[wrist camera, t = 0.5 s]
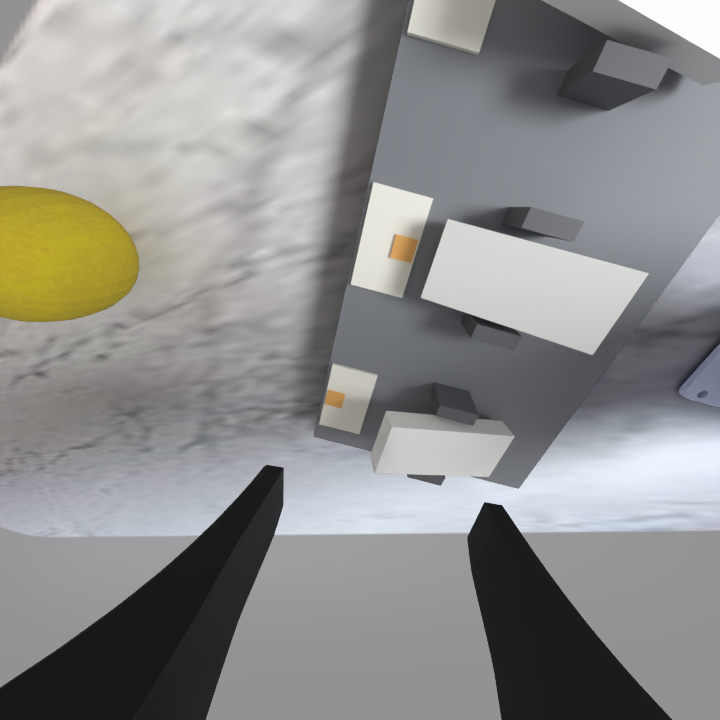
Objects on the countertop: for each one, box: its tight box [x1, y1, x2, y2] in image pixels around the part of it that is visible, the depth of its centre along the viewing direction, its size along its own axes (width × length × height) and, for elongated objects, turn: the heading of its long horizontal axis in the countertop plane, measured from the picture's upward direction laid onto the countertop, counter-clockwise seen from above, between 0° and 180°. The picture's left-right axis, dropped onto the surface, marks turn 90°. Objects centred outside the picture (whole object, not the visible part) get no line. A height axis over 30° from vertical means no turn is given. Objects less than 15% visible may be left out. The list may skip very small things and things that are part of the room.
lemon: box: [0, 186, 139, 322], centre depth 13 cm, size 6×6×8 cm
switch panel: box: [313, 0, 720, 489], centre depth 14 cm, size 14×25×4 cm, turn 166°
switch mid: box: [421, 219, 649, 355], centre depth 12 cm, size 7×3×1 cm, turn 76°
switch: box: [370, 411, 515, 477], centre depth 16 cm, size 7×3×1 cm, turn 77°
